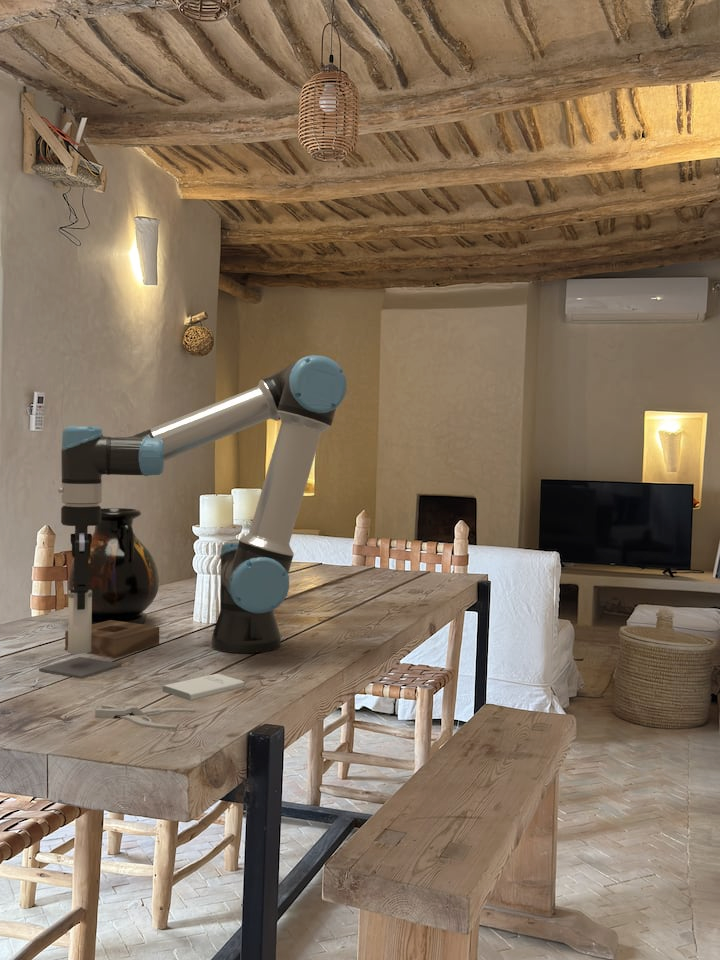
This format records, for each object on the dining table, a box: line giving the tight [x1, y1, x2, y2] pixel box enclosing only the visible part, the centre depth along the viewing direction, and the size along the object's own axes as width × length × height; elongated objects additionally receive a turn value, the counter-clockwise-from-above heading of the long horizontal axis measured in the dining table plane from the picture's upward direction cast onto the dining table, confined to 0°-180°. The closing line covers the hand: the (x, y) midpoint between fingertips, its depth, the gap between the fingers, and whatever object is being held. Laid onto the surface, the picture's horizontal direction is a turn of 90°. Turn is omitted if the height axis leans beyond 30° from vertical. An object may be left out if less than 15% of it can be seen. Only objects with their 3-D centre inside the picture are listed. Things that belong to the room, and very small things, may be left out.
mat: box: [38, 656, 123, 679], centre depth 179 cm, size 11×11×1 cm
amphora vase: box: [66, 507, 160, 625], centre depth 220 cm, size 22×22×28 cm
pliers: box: [94, 704, 196, 730], centre depth 149 cm, size 10×2×15 cm
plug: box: [67, 589, 92, 655], centre depth 178 cm, size 4×4×12 cm
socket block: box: [64, 620, 160, 658], centre depth 197 cm, size 14×14×4 cm
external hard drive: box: [162, 673, 245, 701], centre depth 166 cm, size 2×8×12 cm
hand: (80, 622), depth 178 cm, fingers closed on plug, 4 cm apart
